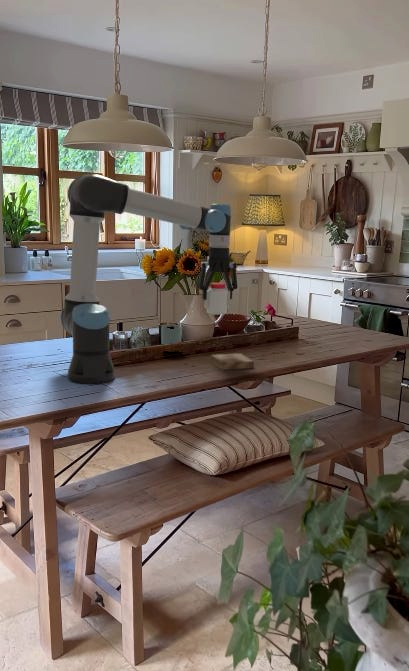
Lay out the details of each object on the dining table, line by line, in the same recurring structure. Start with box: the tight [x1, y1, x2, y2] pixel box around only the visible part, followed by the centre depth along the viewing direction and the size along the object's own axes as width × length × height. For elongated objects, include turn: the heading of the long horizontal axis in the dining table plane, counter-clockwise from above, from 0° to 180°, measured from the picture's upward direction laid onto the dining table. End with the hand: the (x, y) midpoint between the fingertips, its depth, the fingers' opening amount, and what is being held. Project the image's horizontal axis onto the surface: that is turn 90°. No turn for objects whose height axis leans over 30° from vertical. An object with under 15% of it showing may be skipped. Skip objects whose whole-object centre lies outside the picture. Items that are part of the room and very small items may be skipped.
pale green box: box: [160, 324, 182, 345], centre depth 238 cm, size 8×8×10 cm
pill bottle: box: [206, 282, 228, 315], centre depth 228 cm, size 8×8×11 cm
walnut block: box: [210, 352, 255, 371], centre depth 222 cm, size 12×12×3 cm
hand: (216, 308), depth 229 cm, fingers closed on pill bottle, 8 cm apart
